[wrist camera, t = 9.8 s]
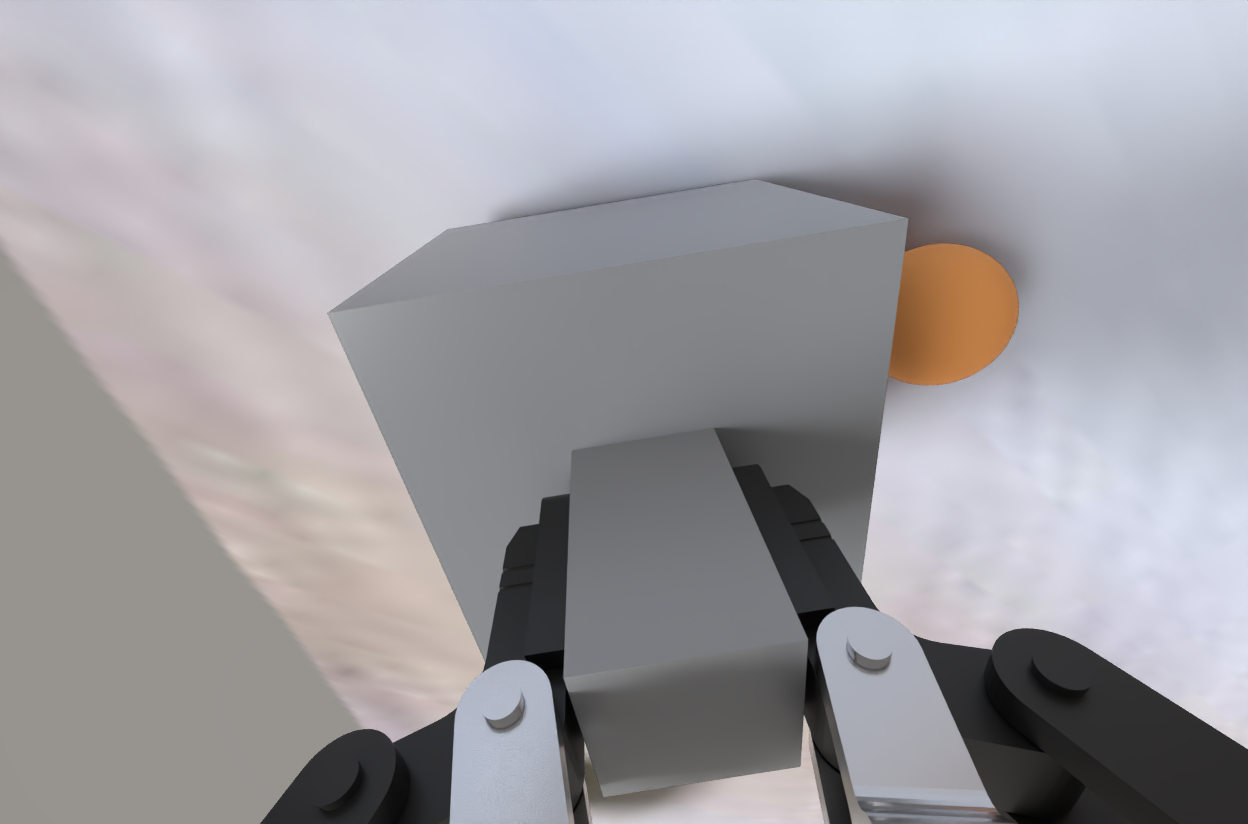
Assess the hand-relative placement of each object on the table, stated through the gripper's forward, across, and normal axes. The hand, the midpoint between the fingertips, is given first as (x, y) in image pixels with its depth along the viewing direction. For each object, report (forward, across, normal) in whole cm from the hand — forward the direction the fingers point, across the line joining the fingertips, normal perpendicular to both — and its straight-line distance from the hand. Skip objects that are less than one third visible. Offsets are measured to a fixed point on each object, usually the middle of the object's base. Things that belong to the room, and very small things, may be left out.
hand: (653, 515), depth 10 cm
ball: (+9, -11, 0) cm, 14 cm away
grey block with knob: (+10, 0, 0) cm, 10 cm away
